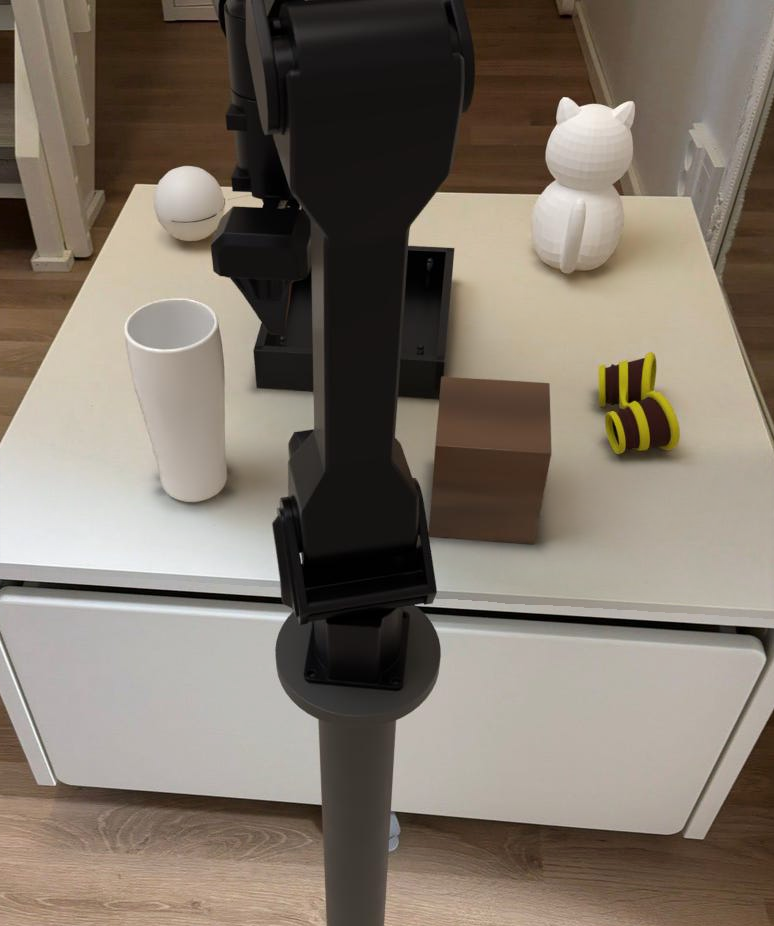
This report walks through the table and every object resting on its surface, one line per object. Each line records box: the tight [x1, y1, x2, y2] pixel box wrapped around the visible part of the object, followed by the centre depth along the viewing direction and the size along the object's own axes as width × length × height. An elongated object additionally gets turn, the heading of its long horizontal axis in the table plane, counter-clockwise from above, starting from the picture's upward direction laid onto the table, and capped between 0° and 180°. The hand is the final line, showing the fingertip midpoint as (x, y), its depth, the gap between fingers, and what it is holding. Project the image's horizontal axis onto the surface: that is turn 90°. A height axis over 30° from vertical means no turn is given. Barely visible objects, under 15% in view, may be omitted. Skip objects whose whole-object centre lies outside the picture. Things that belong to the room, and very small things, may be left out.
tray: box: [252, 245, 455, 400], centre depth 94 cm, size 18×16×4 cm
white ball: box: [153, 165, 251, 242], centre depth 106 cm, size 10×7×7 cm
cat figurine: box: [530, 96, 636, 274], centre depth 98 cm, size 9×12×15 cm
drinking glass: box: [123, 297, 228, 503], centre depth 77 cm, size 7×7×15 cm
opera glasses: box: [598, 352, 681, 455], centre depth 85 cm, size 10×5×5 cm, turn 179°
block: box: [428, 376, 553, 545], centre depth 77 cm, size 8×8×9 cm
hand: (286, 298), depth 77 cm, fingers open, 9 cm apart
